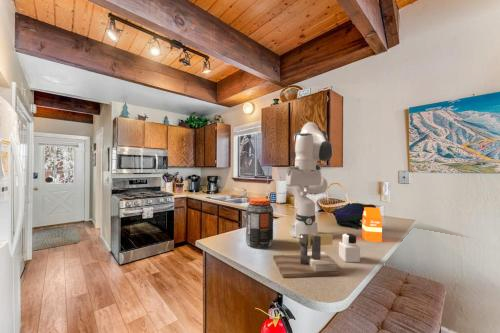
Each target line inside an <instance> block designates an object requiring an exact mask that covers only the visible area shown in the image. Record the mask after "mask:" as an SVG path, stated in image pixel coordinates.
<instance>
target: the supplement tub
mask: <svg viewBox="0 0 500 333" xmlns="http://www.w3.org/2000/svg"><path fill="white" fill-rule="evenodd" d="M271 201H272V200H271V199H270V198H267V197H253V198H252V197H251V198H249V199H248V205H247V206H246V208H245V243H246V245H247V246H249V247H251V248H255V249H265V248H269V247H271V246H272V245H273V243H274V208H273V206H272V205H271V204H272V203H271Z"/></svg>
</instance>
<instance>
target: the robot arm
mask: <svg viewBox="0 0 500 333" xmlns="http://www.w3.org/2000/svg"><path fill="white" fill-rule="evenodd" d="M293 141H294V144H295V145H294V146H293V155H294V157H295V158H294V166H293V165H292V166H289V167H288V168H287V170H286V171H287V172H286V178H285V186H286V188H287V190H288V191H289V192H290V193H291V194H293V196H294V198H295V201H296V215H295V219H294V221H293V222H292V224H290V227H291V228H289V229H288V230H289V233H290V236H291V237H292V238H293V237H294V238H297V239H300V234H319V232H318V231H319V230H318V223H317V222H316V214H315V213H316V211H315V210H316V205H315V202H314V200H312V199H311V198H309V197H307V195H308V194H323V193H325V192H326V191H327V190H328V182H327V179H326V178H325V177H323V176H322V172H321V171H322V166H321V165H319V164H318V161H322V162H327V161H329V160H330V159H331V158H332V156H333V155H334V154H333V150H334V149H333V145H332V143H331V142H330V141H329V140H328V134H327V132H326V131H325V130H319V127H318V125H317V124H316V123H315V122H313V121H308V122H306V123H305V124H303V126H302V127H301V128H300V129H299V130H296V131H295V134H294V136H293Z"/></svg>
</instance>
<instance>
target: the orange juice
mask: <svg viewBox="0 0 500 333" xmlns="http://www.w3.org/2000/svg"><path fill="white" fill-rule="evenodd" d="M361 225H362V227H361V229H362V232H361V234H362V236H361V237H362V238H363V239H364V240H365V242H366V241H367V242H378V243H382V240H383V238H382V237H383V234H382V233H383V216H382V213H381V208H380V207H376V208H370V207H365V208H364V212H363V219H362V223H361Z"/></svg>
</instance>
